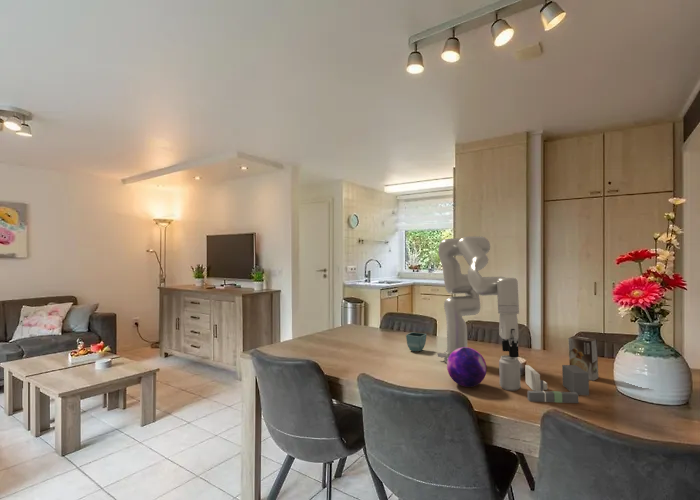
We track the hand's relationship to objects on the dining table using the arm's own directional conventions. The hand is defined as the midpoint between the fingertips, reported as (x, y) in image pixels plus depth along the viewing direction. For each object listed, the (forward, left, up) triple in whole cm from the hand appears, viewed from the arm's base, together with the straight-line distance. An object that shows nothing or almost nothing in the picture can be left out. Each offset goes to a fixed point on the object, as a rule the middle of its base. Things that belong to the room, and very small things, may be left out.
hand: (510, 354), depth 143 cm
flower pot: (-34, +56, -14) cm, 67 cm away
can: (0, +1, -14) cm, 14 cm away
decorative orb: (-16, +2, -14) cm, 21 cm away
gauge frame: (+14, -4, -13) cm, 20 cm away
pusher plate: (+10, -2, -13) cm, 16 cm away
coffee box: (+34, +18, -14) cm, 40 cm away
